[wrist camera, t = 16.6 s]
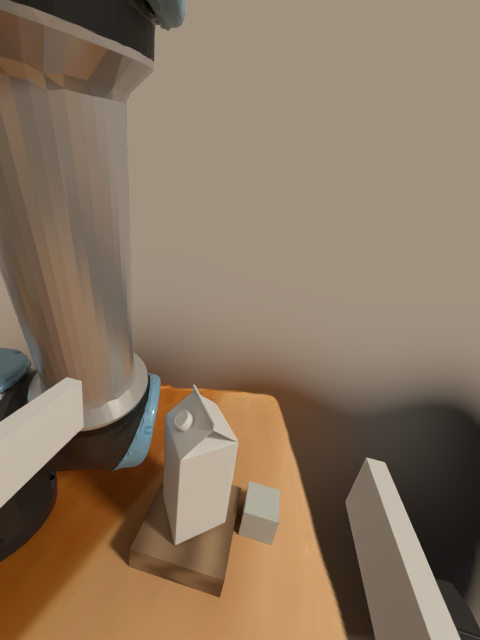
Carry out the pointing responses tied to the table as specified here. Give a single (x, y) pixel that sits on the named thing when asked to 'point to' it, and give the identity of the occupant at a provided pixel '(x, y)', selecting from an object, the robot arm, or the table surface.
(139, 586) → the table surface
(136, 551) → the walnut block
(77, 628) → the table surface
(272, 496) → the grey cube
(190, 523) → the milk carton
